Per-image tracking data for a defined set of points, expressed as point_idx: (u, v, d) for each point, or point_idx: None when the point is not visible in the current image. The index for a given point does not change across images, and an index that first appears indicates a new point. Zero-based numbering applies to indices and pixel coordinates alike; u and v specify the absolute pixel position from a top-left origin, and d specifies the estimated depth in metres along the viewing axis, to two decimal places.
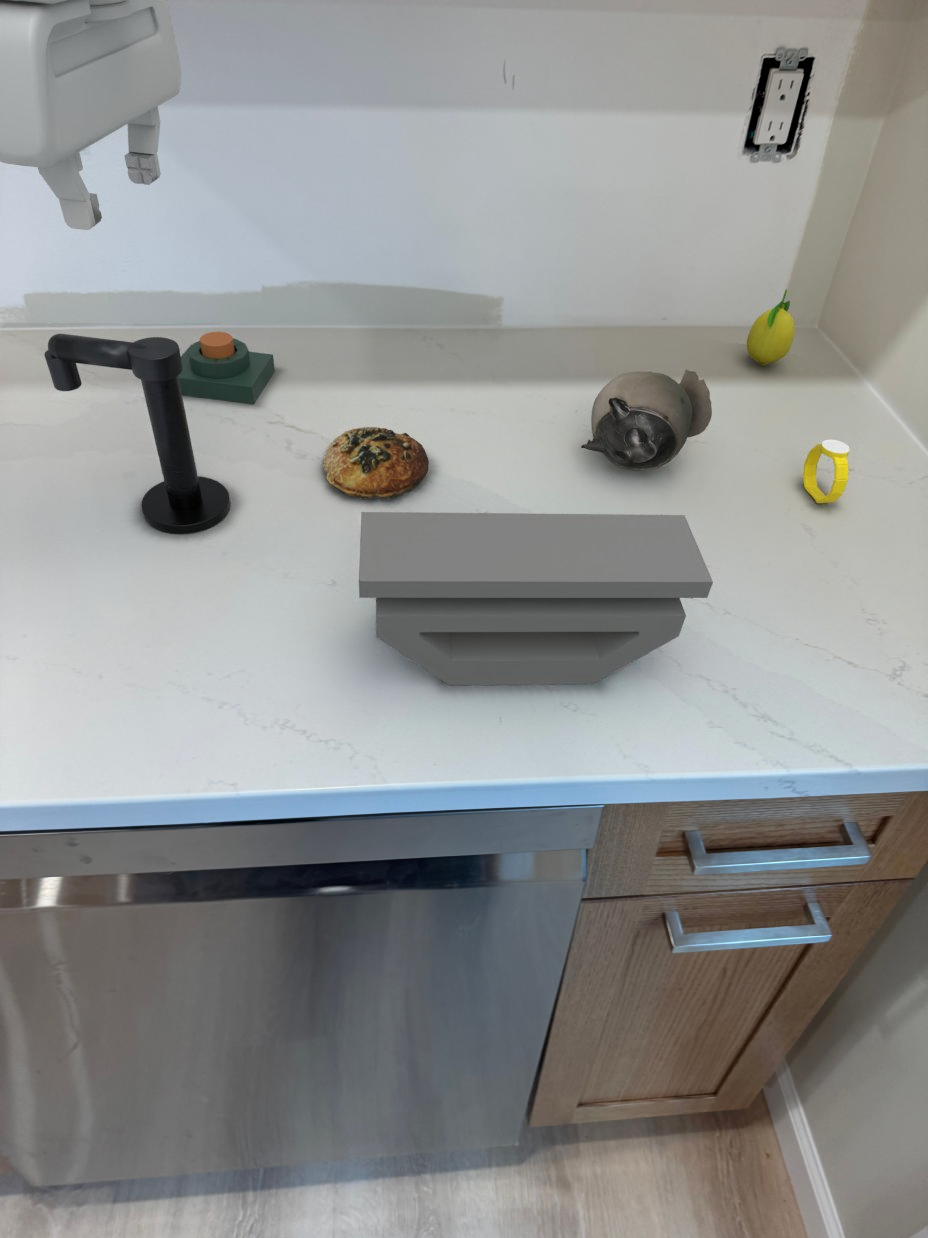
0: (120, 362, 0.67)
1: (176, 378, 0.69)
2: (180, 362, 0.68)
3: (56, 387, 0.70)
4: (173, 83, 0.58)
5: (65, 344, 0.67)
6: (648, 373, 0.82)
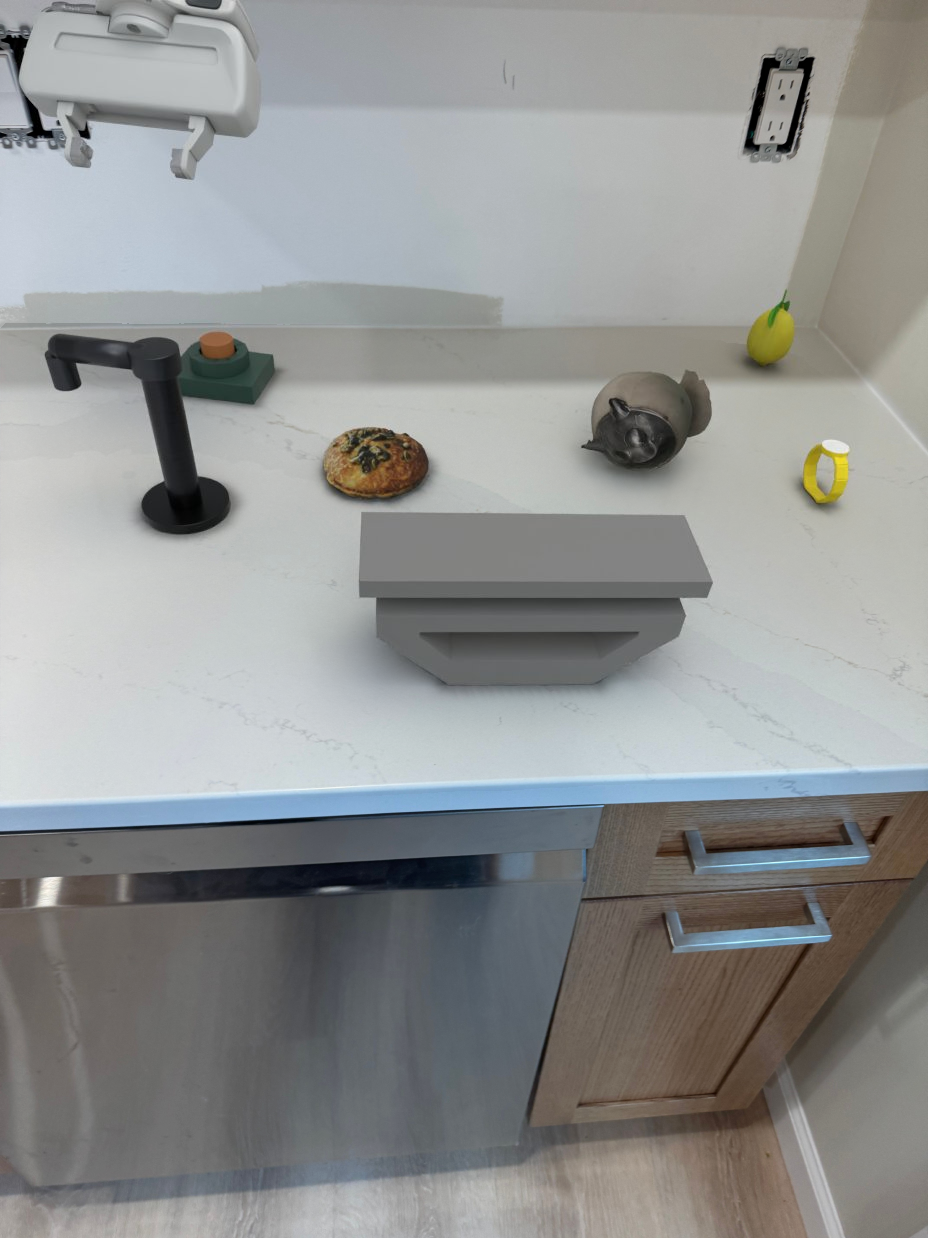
0: (120, 362, 0.67)
1: (176, 378, 0.69)
2: (180, 362, 0.68)
3: (56, 387, 0.70)
4: None
5: (65, 344, 0.67)
6: (648, 373, 0.82)
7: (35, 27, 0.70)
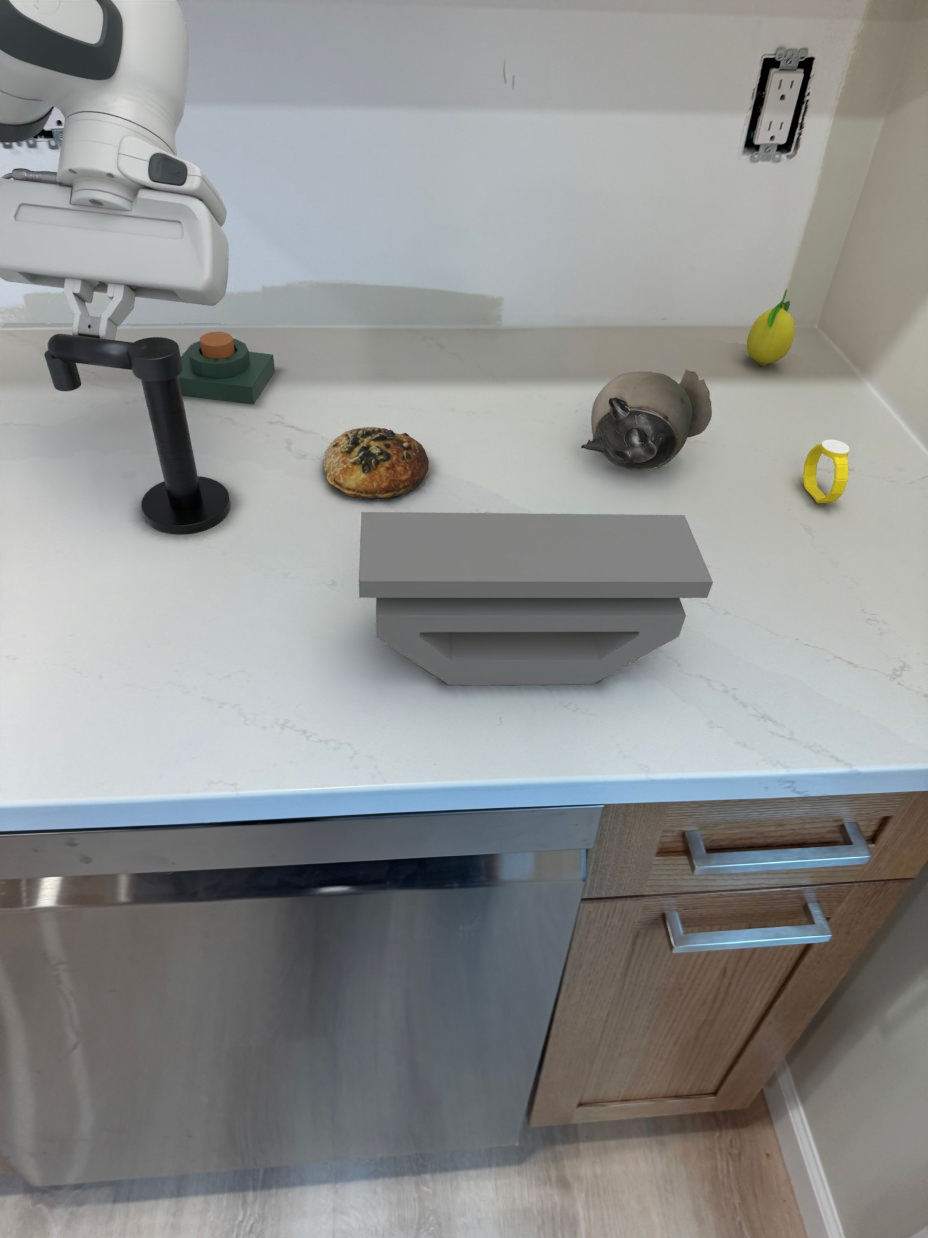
0: (120, 363, 0.67)
1: (176, 378, 0.69)
2: (180, 362, 0.68)
3: (56, 387, 0.70)
4: None
5: (65, 344, 0.67)
6: (648, 373, 0.82)
7: None
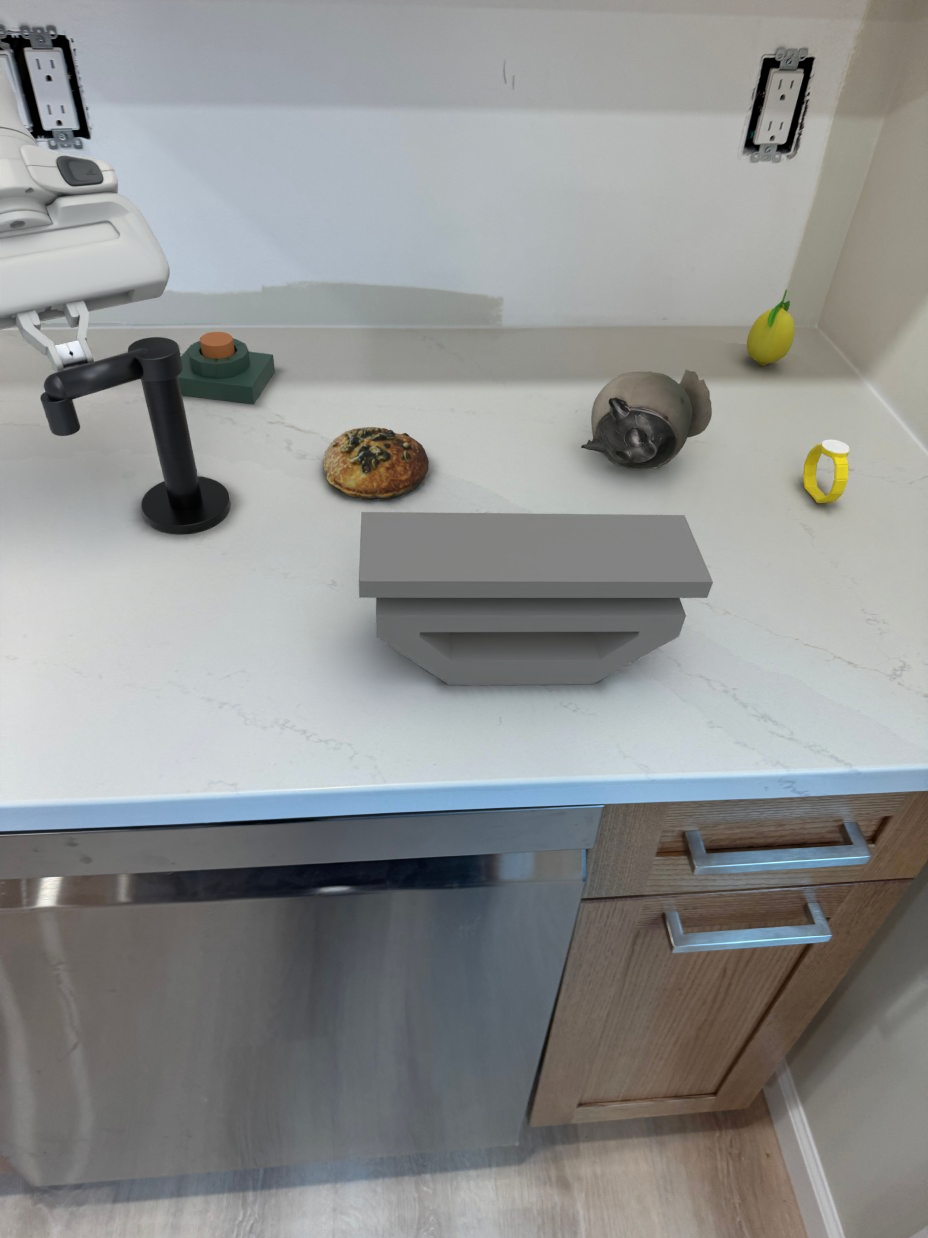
0: (133, 374, 0.66)
1: (176, 378, 0.69)
2: None
3: (64, 433, 0.65)
4: None
5: (72, 379, 0.63)
6: (648, 373, 0.82)
7: None
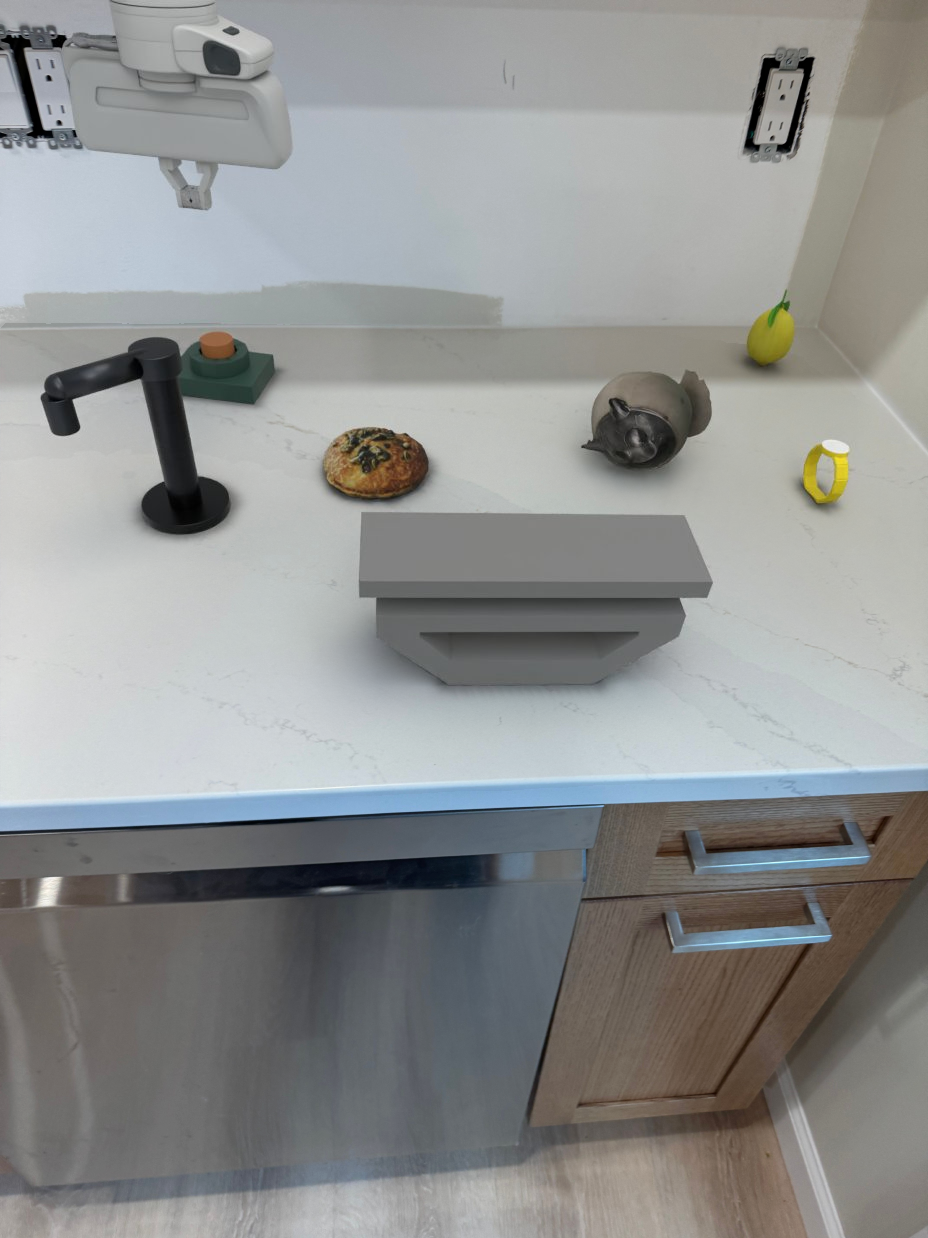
0: (133, 374, 0.66)
1: (176, 378, 0.69)
2: None
3: (64, 433, 0.65)
4: None
5: (72, 379, 0.63)
6: (648, 373, 0.82)
7: (72, 82, 0.74)
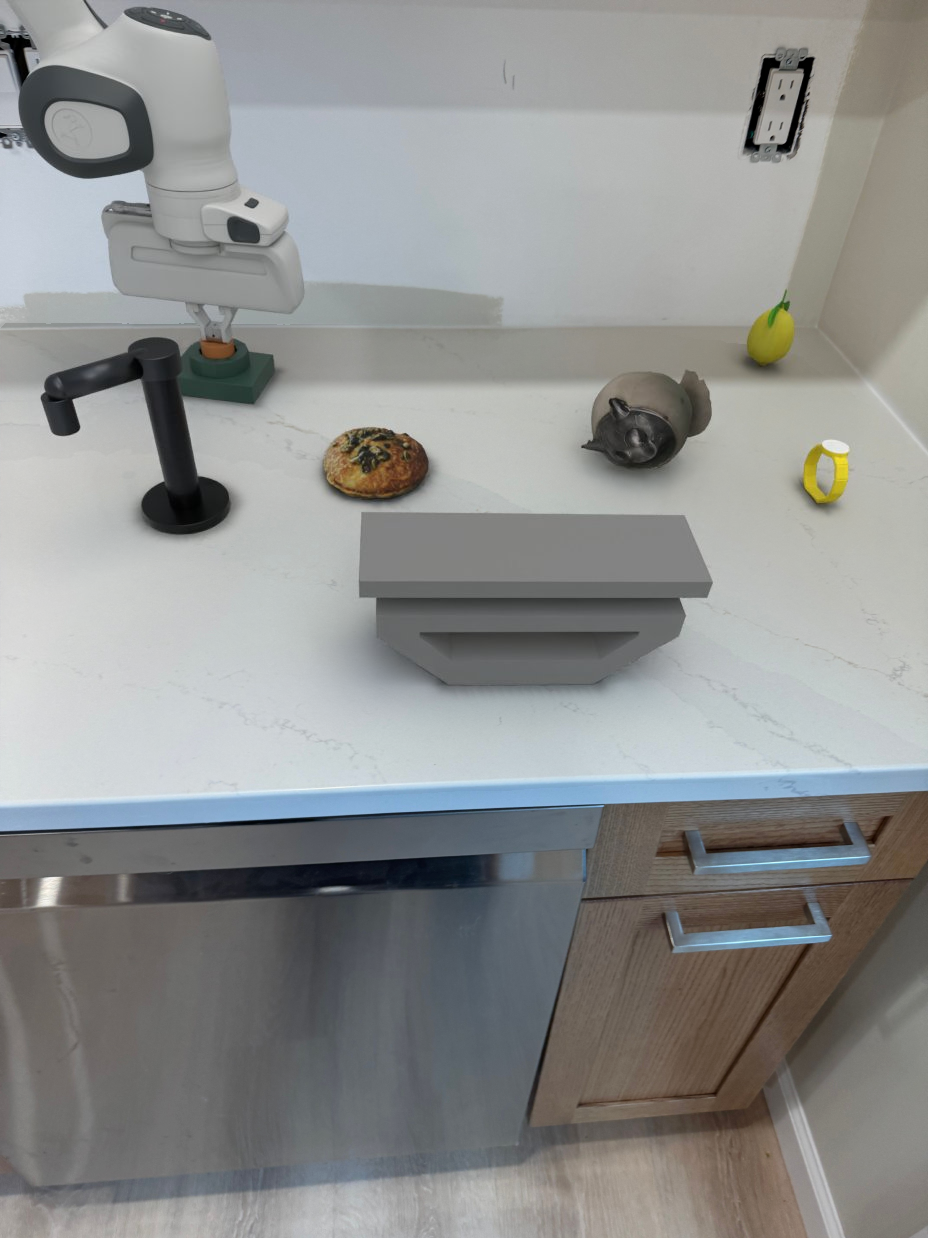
0: (133, 374, 0.66)
1: (176, 378, 0.69)
2: None
3: (64, 433, 0.65)
4: None
5: (72, 379, 0.63)
6: (648, 373, 0.82)
7: (111, 242, 0.84)
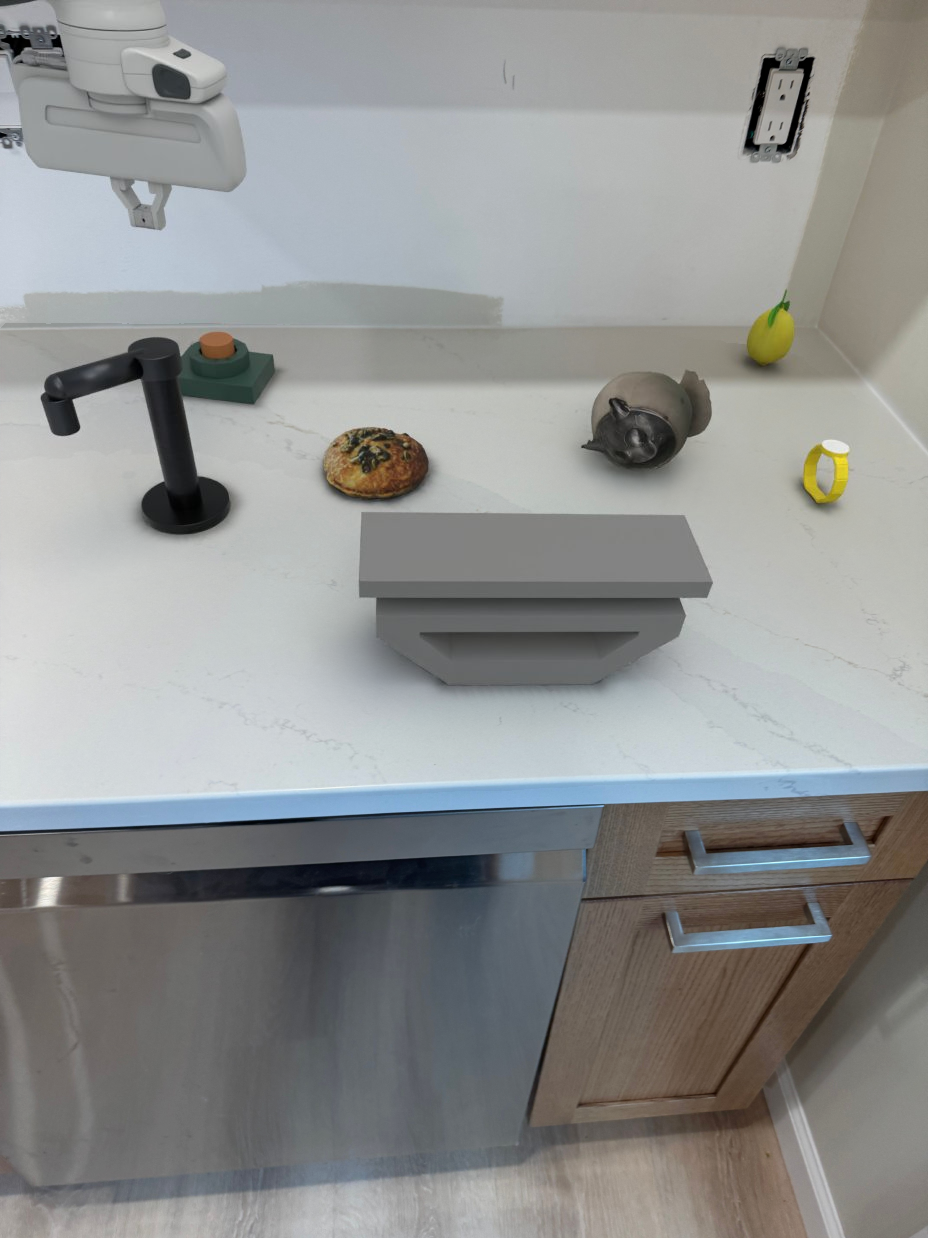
0: (133, 374, 0.66)
1: (176, 378, 0.69)
2: None
3: (64, 433, 0.65)
4: None
5: (72, 379, 0.63)
6: (648, 373, 0.82)
7: (21, 100, 0.73)
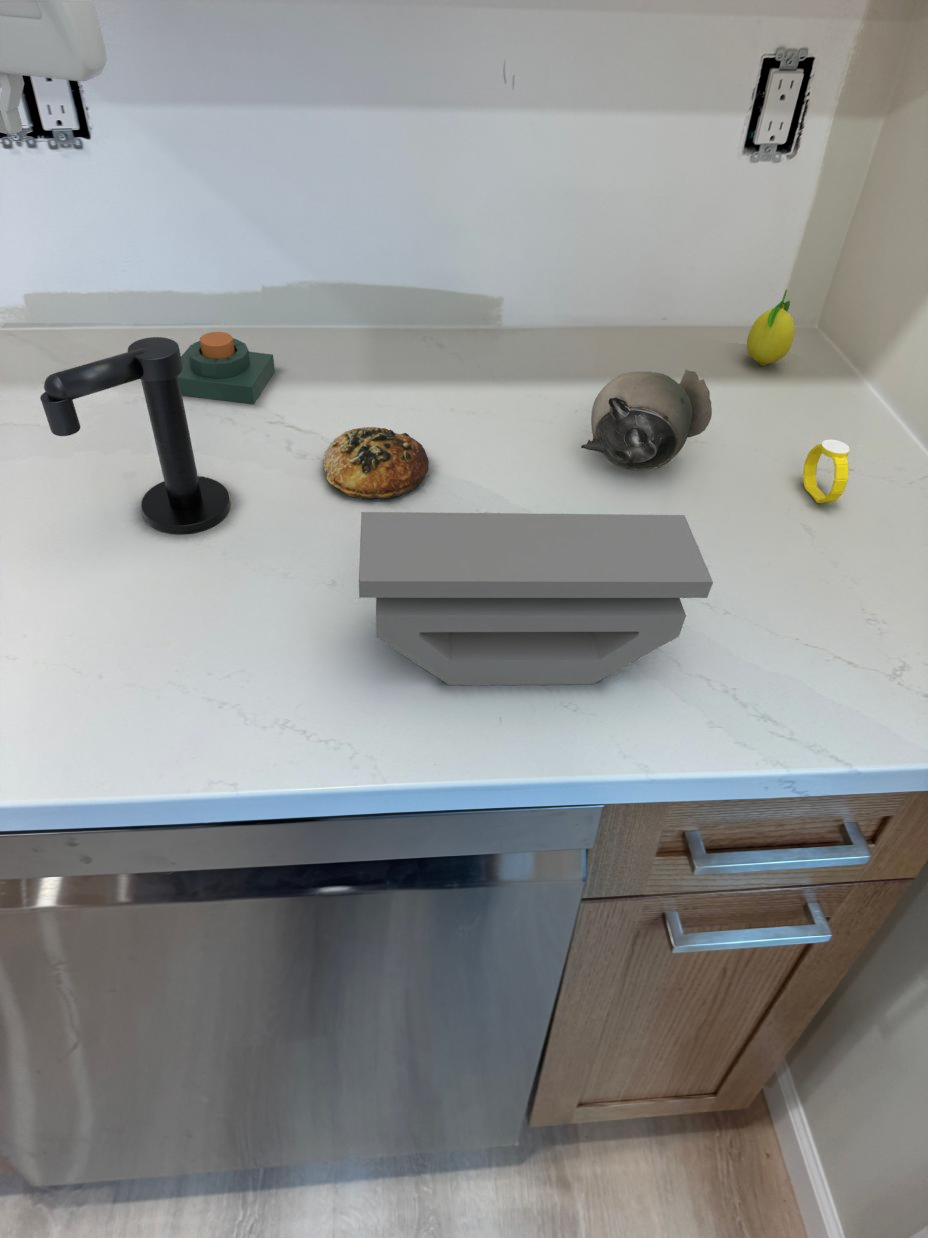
0: (133, 374, 0.66)
1: (176, 378, 0.69)
2: None
3: (64, 433, 0.65)
4: None
5: (72, 379, 0.63)
6: (648, 373, 0.82)
7: None
